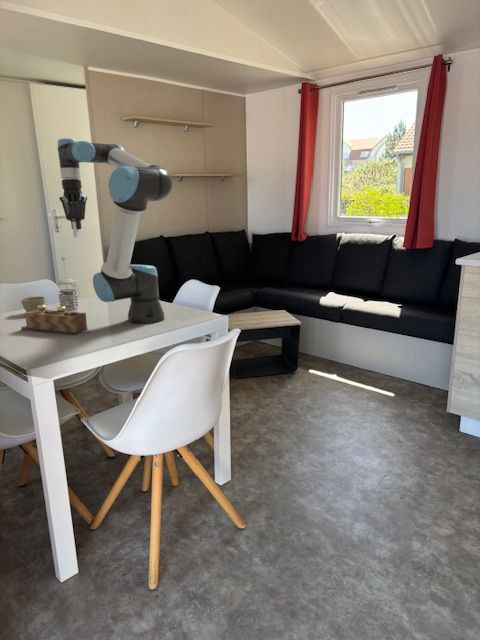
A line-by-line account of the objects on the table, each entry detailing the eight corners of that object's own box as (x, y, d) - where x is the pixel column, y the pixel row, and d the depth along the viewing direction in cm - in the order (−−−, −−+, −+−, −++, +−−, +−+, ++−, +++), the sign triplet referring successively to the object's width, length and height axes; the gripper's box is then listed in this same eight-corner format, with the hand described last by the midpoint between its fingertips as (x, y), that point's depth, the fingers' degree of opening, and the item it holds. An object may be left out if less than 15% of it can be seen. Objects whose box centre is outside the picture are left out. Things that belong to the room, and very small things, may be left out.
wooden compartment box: (87, 327, 182) (85, 312, 181) (74, 332, 176) (72, 317, 174) (40, 323, 191) (38, 308, 190) (26, 327, 185) (24, 312, 184)
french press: (53, 312, 214) (46, 258, 208) (71, 307, 224) (65, 255, 218) (70, 314, 210) (64, 258, 204) (88, 308, 220) (82, 255, 214)
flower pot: (38, 316, 207) (35, 301, 205) (18, 316, 209) (15, 300, 207) (51, 311, 216) (49, 296, 215) (32, 311, 218) (30, 296, 217)
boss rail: (87, 329, 183) (84, 306, 181) (73, 335, 176) (70, 310, 174) (37, 324, 193) (34, 302, 191) (21, 329, 186) (18, 306, 184)
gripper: (90, 178, 193) (95, 236, 199) (65, 180, 198) (71, 236, 204) (77, 178, 186) (83, 238, 192) (52, 179, 191) (59, 237, 197)
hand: (77, 237), depth 198 cm, fingers closed
